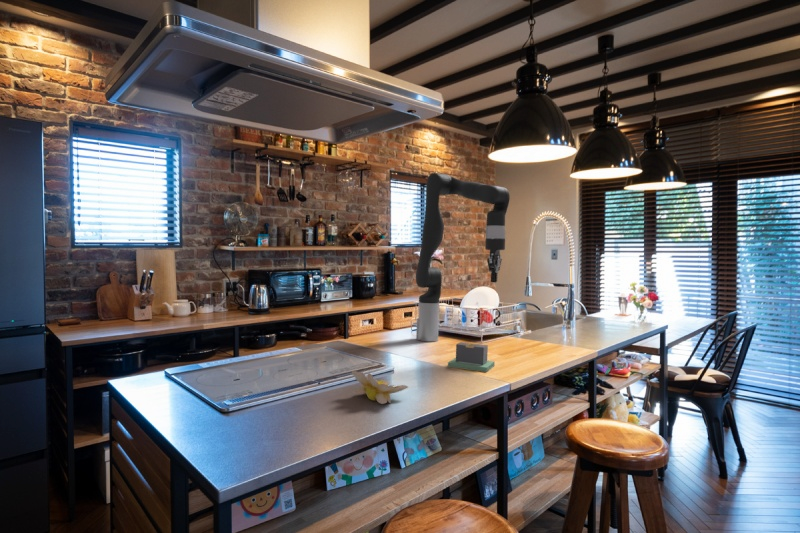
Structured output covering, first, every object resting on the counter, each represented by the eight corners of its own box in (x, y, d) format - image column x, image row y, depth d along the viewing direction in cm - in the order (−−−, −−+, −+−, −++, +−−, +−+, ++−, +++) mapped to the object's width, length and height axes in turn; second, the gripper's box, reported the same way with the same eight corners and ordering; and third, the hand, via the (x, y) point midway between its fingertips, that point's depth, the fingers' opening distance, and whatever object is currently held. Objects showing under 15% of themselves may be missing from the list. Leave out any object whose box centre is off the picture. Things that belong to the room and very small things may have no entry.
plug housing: (455, 361, 159) (456, 344, 159) (460, 358, 164) (460, 342, 164) (483, 364, 155) (483, 347, 155) (487, 362, 160) (487, 345, 159)
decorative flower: (418, 395, 119) (410, 360, 118) (385, 414, 113) (377, 376, 111) (384, 385, 131) (377, 353, 130) (353, 402, 124) (345, 368, 123)
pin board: (447, 366, 158) (448, 351, 158) (457, 360, 167) (457, 346, 167) (486, 372, 152) (487, 355, 152) (494, 365, 161) (494, 350, 161)
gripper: (490, 238, 183) (489, 281, 183) (481, 237, 171) (479, 282, 171) (508, 238, 179) (507, 281, 180) (500, 237, 167) (499, 283, 168)
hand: (494, 282), depth 176 cm, fingers closed
